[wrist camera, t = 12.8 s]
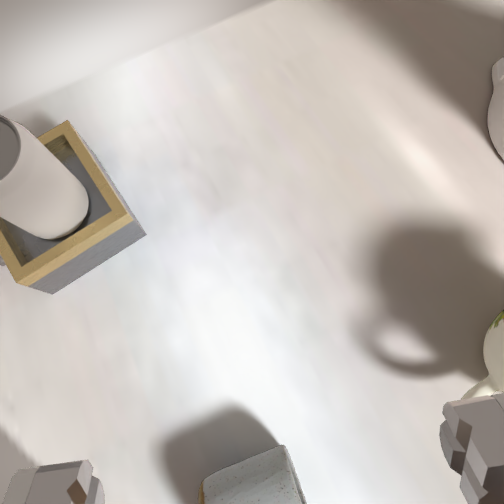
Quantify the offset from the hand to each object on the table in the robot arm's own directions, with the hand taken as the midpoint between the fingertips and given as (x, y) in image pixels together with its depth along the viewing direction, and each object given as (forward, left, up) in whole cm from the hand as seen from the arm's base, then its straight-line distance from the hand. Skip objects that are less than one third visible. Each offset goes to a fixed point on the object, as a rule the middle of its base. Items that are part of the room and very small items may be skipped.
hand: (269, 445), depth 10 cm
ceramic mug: (+6, +9, -34) cm, 36 cm away
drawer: (+7, -24, -34) cm, 42 cm away
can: (+7, -24, -29) cm, 38 cm away
